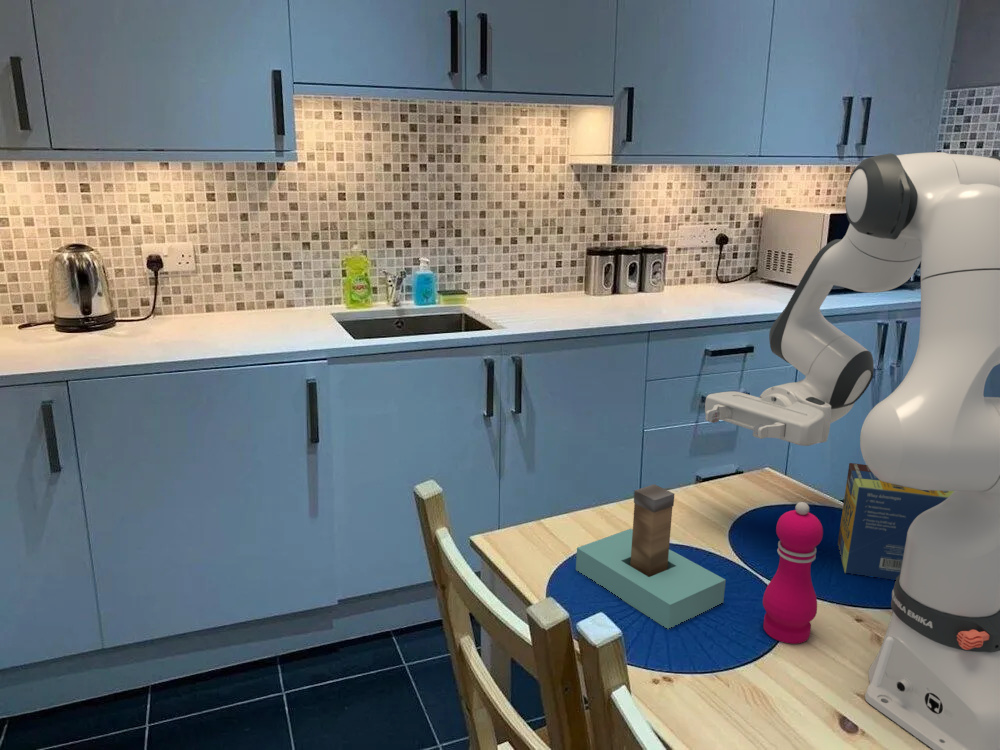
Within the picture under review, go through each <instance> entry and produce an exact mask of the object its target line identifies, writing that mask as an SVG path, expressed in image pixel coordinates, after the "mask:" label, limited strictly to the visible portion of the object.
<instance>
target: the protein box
mask: <svg viewBox="0 0 1000 750" xmlns="http://www.w3.org/2000/svg"><path fill="white" fill-rule="evenodd" d="M844 490H845V492H844V497H843V498H844V499H843V505H842V512H841V513H842V514H841V518H840V526H839V532H838V539H837V547H838V546H839V547H838V550H840V551H839V555H841V556H840V559H841V563H842V567H843V571H844V574H846V573H851V574H850V575H853V574H859V575H865V576H864V577H866V576H873V577H880V578H886V579H885V580H887V579H893V580H892V581H894V579H895V580H896V578H897V576H898V575H900V573H901V567H902V561H903V555H904V550H905V544H906V538H907V532H908V529H909V527H910V525H911V523H912V522H913V521H914V519H915V518H916V517H917V516H918V515H920V514H921V513H923V512H924V511H926V510H928V509H930V508H932V507H934V506H936V505H938V504H940V503H942V502H943V501H944V500H946V499H947V498H948V497H949V496H950V495H951V494H952V493H953V492H954V491H936V490H919V489H914V488H909V487H904V486H900V485H895V484H891V483H887V482H883V481H881V480H879V479H878V478H877V477H876V476H875V475H874V474H873V473H872V472H871V470H870V469H869V468H868V466H867V464H862V463H854V462H853V463H852V462H849V463H848V470H847V477H846V484H845V489H844ZM859 575H858V576H859ZM873 577H872V578H873ZM880 578H879V579H880Z"/></svg>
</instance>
